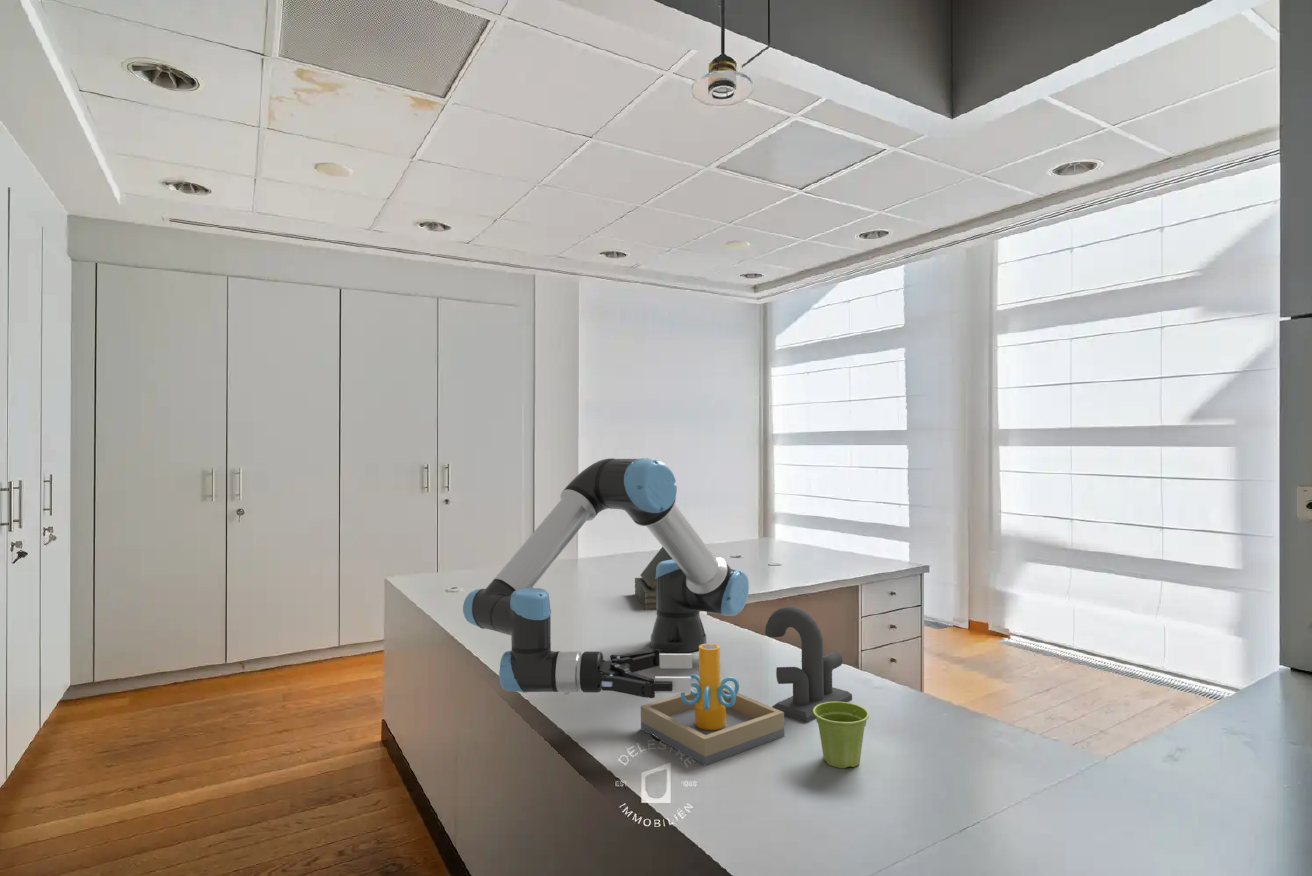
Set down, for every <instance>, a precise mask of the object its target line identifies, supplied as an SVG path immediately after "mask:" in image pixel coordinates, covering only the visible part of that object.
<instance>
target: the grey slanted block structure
mask: <svg viewBox="0 0 1312 876" xmlns="http://www.w3.org/2000/svg"><path fill="white" fill-rule="evenodd" d="M666 560H672V558H671V556H670V555H669V554H668V553H667V551H666V550H665V549H664V548H663V546H661V548H660V549H659V550H658V551H657V553H656V554H655V556H654V557H653V558H652V560H650V562H649V563H648V565H647V566H646V567H645V568H644V569H643V570H642V572H641V574H640V577H635V578H634V589H635V590H634V595H635V597H636V598H637V600H638V602H639V603H640V605H641V606H642V607H644V608H643V609H644V610H645V611H647V610H657V606H656V579H655V577H656V567H657V565H658V564H659V563H660V562H662V561H666Z"/></svg>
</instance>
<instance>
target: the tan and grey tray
mask: <svg viewBox="0 0 1312 876" xmlns="http://www.w3.org/2000/svg"><path fill="white" fill-rule="evenodd" d="M693 691H694V692H697V689H695V690H693ZM723 692H724V693H725V694H726V695H730V694H731V693H730V692H729V690H728V689H726V688H724V689H723ZM685 698H686V699H687V700H688V701H692V700H694V699H695V698H696V697H695V696H693V695H691V694H690V693H685ZM723 699H724V700H725V702H726V703H730V702H731V699H732V698H731V699H725V698H723ZM640 729H641V730H642V729H643V730H642V731H644V732H645V731H646V732H645V733H647V732H648V733H647V734H649V735H651V734H654V735H655V736H657V737H658V738H659V739H658V738H657V739H658V740H660V741H661V742H663V743H665V744H666V745H668V746H670V747H673V748H674V749H675V750H677V751H679V752H681V753H682V754H684V755H686V756H688V757H690V758H692V759H693V760H695V761H696V762H699V763H700V764H702V765H704V766H707V765H710V764H712V763H715V762H718V761H721V760H723V759H726V758H729V757H732V756H734V755H737V754H740V753H742V752H745V751H748V750H750V749H751V750H752V749H753V748H756V747H759V746H761V745H765V744H766V743H770V742H772V741H775V740H777V739H781V738H783V737H785V716H784V712H782V711H780V710H777V709H775V708H773V707H772V706H770V705H768V704H765V703H763V702H761V701H759V700H755V699H753V698H751V697H748V696H746V695H744V694H742V693H739V692H738V693H737V695H736V701H735V704H734V705H733V706H732V707H726V725H725V727H723V728H721V729H718V730H704V729H700V728H698V727H697V726H696V725H695V704H693V705H687V704H685V703H684V702H683V701H682V699H681V694H677V695H674V696H671V697H667V698H664V699H660V700H657V701H653V702H651V703H646V704H643V705H640Z"/></svg>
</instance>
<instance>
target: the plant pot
mask: <svg viewBox="0 0 1312 876" xmlns="http://www.w3.org/2000/svg"><path fill="white" fill-rule="evenodd" d="M813 713H814V715H815V716H816V720H815V721H816V722H817V726H818V731H819V737H820V742H821V743H820V744H821V749H822V750H821V751H822V756H823V760H824V761H825V762H826V763H827V765H829V766H831V767H834V768H838V769H847V768H850V767H852V768H855V767H857V766H859V765H860V762H861V755H862V748H863V742H864V741H863V740H864V732H865V727H866V726H867V721H868V719H869V718H870V713H869V710H868V709H866V708H865V707H864V706H861V705H858V704H856V703H852V702H849V701H848V702H825V703H821V704H818V705H817V706H815V707H814V709H813Z"/></svg>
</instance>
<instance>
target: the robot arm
mask: <svg viewBox="0 0 1312 876" xmlns="http://www.w3.org/2000/svg"><path fill="white" fill-rule="evenodd" d="M676 480H677V479H676V477H675V474H674V473H673V471H672V470H671V468H670V467H669V466H668V465H667V464H666V463H664V462H663V461H660V460H657V459H653V458H652V459H651V458H647V457H646V458H643V457H642V458H604V459H601V460H598V461H596V462H594V463H592V464H591V465H589V466H588V467H586V468H585V469H584V470H582V471H580V473H578V475H576V476H575V477H574V478H573V479H572V480H571V481H570V482H569V483H568V485H566V487H565V488H564V489H563V490H562V491H561V493H560V501H559V502H558V503H557V504H556V505H555V506H554V507H553V508H552V510H551V511H550V512H549V513H548V515H547V516H546V517H545V518H544V519H543V521H542V522H541V523H540V524H539V525H538V526H537V528H536V529H535V530H534V531H533V532H532V533H531V535H530V536H529V537H528V538H527V539H526V541H525V542H524V543H522V545H521V546H520V547H519V549H518V550H517V551H516V552H515V554H514V555H513V556H512V557H511V558H510V560H509V561H508V562H507V563H506V564H505V565H504V567H503V568H502V569H501V570H500V571H499V573H497V575H496V576H495V577H494V578H493V580H492V581H491V582H490V583H489V584H488V586H487V587H486V588H477V589H474V590H473V591H470V593H468V595H466V597H465V599H464V601H463V604H462V613H463V617H464V618H465V620H466V621H467V622H468V623H469V624H471V625H473V626H475V627H478V628H480V629H482V630H484V629H485V630H489V631H490V630H491V631H494V632H498V633H501V634H505V635H508V636H511V637H510V639H511V650H507V651H505V652H503V654H502V656H501V659H500V662H499V671H498V674H499V675H498V676H499V683H500V687H501V689H503V690H504V691H507V692H516V693H517V692H518V693H525V694H527V693H563V692H564V694H565V695H569V694H570V693H579V691H580V690H581V692H583V693H600V692H601V691H603V692H604V691H605V692H616V693H622V694H626V695H631V696H636V697H641V698H647V699H648V698H649V699H653V698H655V697H656V695H655V694H658V693H659V694H660V693H666V694H667V693H668V694H669V693H671V694H674V693H675V694H681V693H691V688H692V687H691V682H692V679H691V677H688V676H667V675H665V676H663V675H662V676H658V675H655V677H654V678H652V677H650V676H645V675H643V674H640V673H637V672H640V671H646V670H648V669H653V668H656V667H659V669H693V653H691V652H696V651H699V646H700V645H701V644H707V635H706V631H705V628H704V624H703V622H702V619H701V615H700V613H701V612H706V613H710V614H711V613H712V614H716V615H721V616H723V617H726V616H728V617H729V616H730V617H735V616H737V615H739V614H740V613H741V612H742V610H744V607H745V606H746V604H747V602H748V597H749V590H750V583H749V578H748V575H747V574H746V573H745V572H744V571H742V570H740V569H733V568H731V567H730V566H729V564H728V562H727V561H726V560H725V559H724V558H723V557H721V556H720V555H719V554H718V555H717V554H713V552H712V551H711V550H710V549H709V547H708V546H707V544H706V543H705V542H704V540H703V539H702V538H701V536H700V535H699V533H698V532H697V531H696V529H694V527H693V526H692V524H691V523H690V522H689V520H688V519H687V517H686V516H685V515H684V513H683V512H682V511H681V509H680V508H679V507H678V506H677V504H676V503H677V502H676V501H677V488H678V486H677V485H675V483H676ZM607 509H611V510H622V511H625V512H626V514H627V515H628V516H629V517H630V518H631V519H632V521H633V523H635V524H636V525H638V526H640V527H646V528H647V529H648V530H649V532H651V534H652V535H653V537H655V539H656V541H658V543H659V544H660V545H661V547H663V548H664V549H665V550H666V551H667V553H668V554H669V555H670V556H671V558H672V560H666V561H662V562H660V563H659V564H658V565H657V567H656V577H655V579H656V606H657V609H656V617H655V621H654V625H653V628H652V632H651V634H650V646H651V647H652V648H653V649H652V650H650V649H649V650H643V651H638V652H637V651H636V652H631V653H624V654H611V655H609V656H610V657H609V660H604V656H603V653H602V651H584V652H582V653H581V651H579V650H573V651H572V650H571V651H570V650H566V651H565V650H564V651H563V650H561V651H559V650H558V651H554V650H553V651H552V650H551V649H552V647H551V646H552V642H551V638H552V637H551V634H552V633H551V632H552V631H551V625H552V624H551V617H552V616H551V615H552V609H551V602H550V601H551V600H550V593H549V592H548V591H547V590H546V589H543V588H540V587H537V588H536V587H535V586H536V584H537V583H538V582H539V580H540V579H541V578H542V577H543V576H544V574H545V573H546V572H547V571H548V569H549V568H550V567H551V565H552V564H553V563H554V562H555V560H556V559H557V558H558V557H559V555H560V554H561V553H562V552H563V551H564V549H565V548H566V547H567V546H568V544H569V543H570V542H571V541H572V539H573V538H574V537H575V535H576V534H577V533H578V532H579V531H580V529H581V528H582V527H583V526H584V524H585V523H586V522H588V521H589V522H590V521H593V520H594V519H595V518H596V517H597V515H598V514H599V513H601V512H602V511H605V510H607ZM534 587H535V588H534ZM700 611H701V612H700ZM660 651H661V652H667V653H660Z"/></svg>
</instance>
